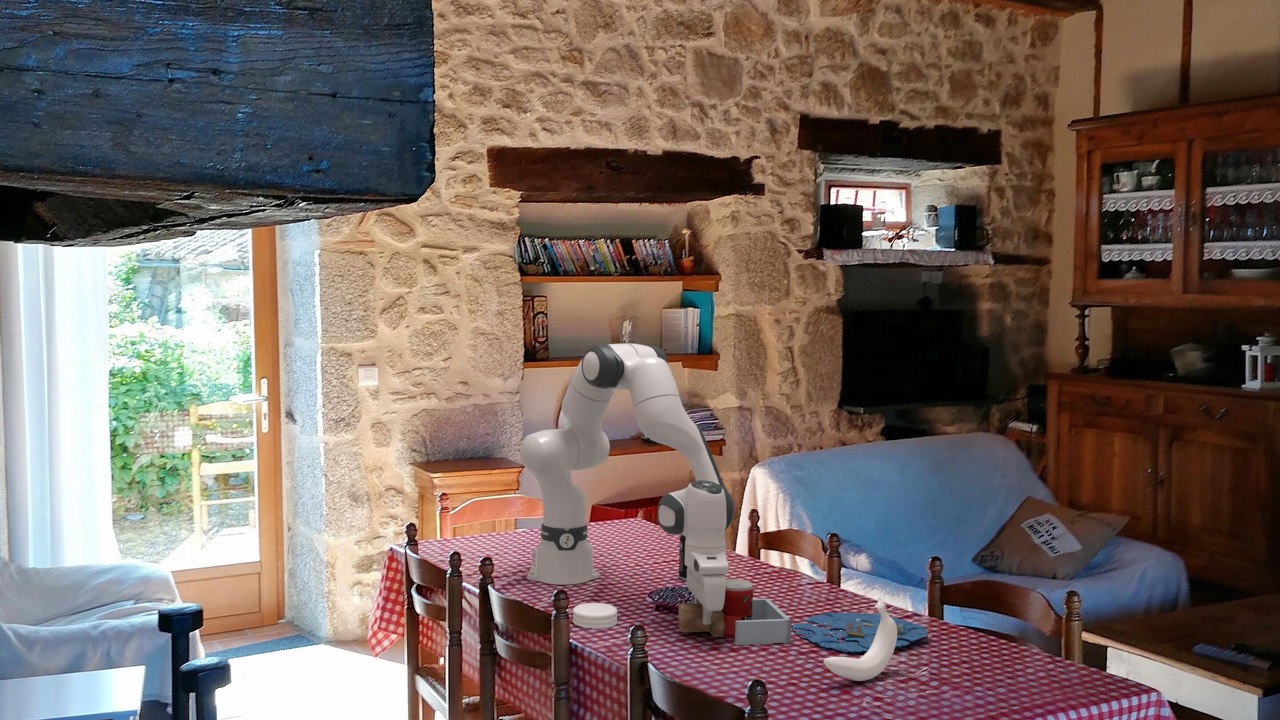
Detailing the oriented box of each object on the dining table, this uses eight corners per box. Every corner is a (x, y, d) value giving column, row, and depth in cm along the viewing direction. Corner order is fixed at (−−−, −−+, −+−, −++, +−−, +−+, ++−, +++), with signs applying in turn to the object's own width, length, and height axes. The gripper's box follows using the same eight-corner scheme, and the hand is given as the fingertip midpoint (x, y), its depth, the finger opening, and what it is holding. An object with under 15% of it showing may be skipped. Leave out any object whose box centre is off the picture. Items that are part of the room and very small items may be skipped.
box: (716, 621, 243) (716, 599, 243) (767, 620, 245) (767, 598, 245) (736, 645, 226) (736, 622, 226) (790, 643, 228) (791, 620, 228)
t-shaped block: (686, 638, 227) (686, 614, 226) (674, 621, 239) (675, 599, 238) (723, 636, 228) (723, 613, 228) (709, 620, 240) (710, 598, 240)
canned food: (748, 640, 230) (750, 589, 229) (712, 636, 232) (713, 586, 231) (754, 630, 237) (755, 580, 237) (718, 626, 239) (720, 577, 239)
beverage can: (695, 583, 276) (696, 537, 275) (673, 579, 279) (674, 534, 279) (708, 578, 281) (709, 533, 281) (687, 574, 285) (688, 529, 284)
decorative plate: (776, 653, 227) (775, 628, 227) (807, 614, 255) (807, 592, 255) (919, 666, 217) (919, 641, 216) (935, 624, 244) (935, 602, 244)
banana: (821, 686, 203) (823, 609, 202) (881, 665, 216) (883, 593, 215) (842, 693, 199) (844, 615, 199) (901, 671, 212) (904, 598, 211)
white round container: (571, 617, 245) (572, 602, 245) (615, 617, 246) (615, 601, 246) (573, 630, 235) (573, 614, 235) (618, 630, 236) (619, 614, 236)
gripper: (680, 546, 242) (679, 607, 243) (701, 568, 222) (699, 634, 223) (707, 545, 243) (706, 606, 244) (731, 568, 223) (729, 633, 224)
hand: (703, 620), depth 233 cm, fingers closed on t-shaped block, 4 cm apart
